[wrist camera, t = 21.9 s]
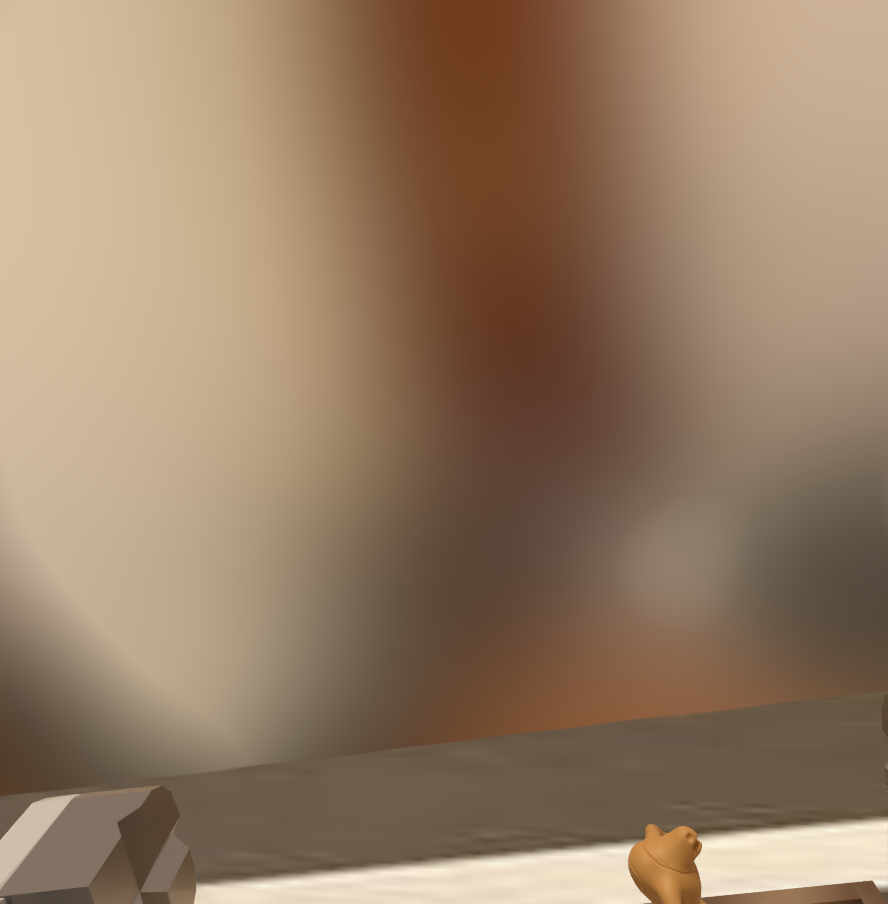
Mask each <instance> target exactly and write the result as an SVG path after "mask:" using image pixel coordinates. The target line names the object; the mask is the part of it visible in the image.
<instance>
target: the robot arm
mask: <svg viewBox="0 0 888 904" xmlns="http://www.w3.org/2000/svg"><path fill="white" fill-rule="evenodd" d="M882 730H883V731H884V732H885V734H886V735H887V736H888V695H885V697H884V701H883V705H882ZM885 776H886V786H887V795H888V762H887V764H886V765H885ZM179 817H180V815H179V812H178V809H177V806H176V804H175V801H174V798H173V795H172V792H171V791H169V790H168V789H166V788H165V787H163V786H151V787H141V788H132V789H122V790H113V791H103V792H93V793H85V794H82V795H81V794H73V795H66V796H59V797H51V798H45V799H43V800H40V801H37V802H34V803H32V804H31V805H30V807H29V808H28V809H27V810H26V811H25V812H24V813H23V815H22V816H21V817H20V818H19V819H18V820H17V822H16V823H15V824H14V825H13V826H12V827H11V828H10V830H9V831H8V832H7V833H6V834H5V835H4V837H3V838H2V839H1V840H0V904H194V899H195V893H196V881H195V868H194V864H193V860H192V857H191V853H190V849H189V848H188V847H187V846H186V845H184V844H183V843H182V842H181V841H180V840H179V839H178V838H176V837H175V836H174V835H173V834H172V833H173V830H174V828H175V826H176V823H177V821H178V819H179Z"/></svg>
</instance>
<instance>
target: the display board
mask: <svg viewBox="0 0 888 904" xmlns="http://www.w3.org/2000/svg"><path fill="white" fill-rule="evenodd" d="M701 899H702V900H703V901H704V902H705V903H707V904H887V903H886V901H885V900H884V898H883V896H882V895H881V893H880V892H879V890H878V889H877V887H876V885H875V884H874V882H873V881H863V882H853V883H844V884H834V885H824V886H814V887H804V888H794V889H784V890H774V891H764V892H754V893H745V894H735V895H725V896H715V897H705V898H701ZM645 904H653V903H645Z"/></svg>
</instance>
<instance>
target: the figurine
mask: <svg viewBox="0 0 888 904" xmlns="http://www.w3.org/2000/svg"><path fill="white" fill-rule="evenodd" d="M697 837H698V836H697V834H696V832H695V831H693V830H692V829H691V828H689V827H686V826H680V827H678V828H676V829H674V830H673V831H671V832H670V833H668V834H667V833H665V832H663V831H662V830H661V829H660V828H658V827H657V826H656V825H653V824H649V825H648V826H647V827H646V837H645V841H641V842H639V843H637V844H636V845H634V847H633V848H632V849H631V851H630V855H629V859H628V866H629V871H630V874H631V876H632V878H633V880H634V882H635V884H636V886H637V887H638V888H639V890H640V891H641V892H642V893H643V894H644V895H645V896H646V897H647V898H648V899H649V900H650V901H651V902H652V903H653V904H707V903H705V902H704V901H703V900H702V899H701V882H700V877H699V873H698V870H697V867H696V865H695V863H694V860H695V858H696V857H697V856H698V855H699V853H700V851H701V848H702V843H701V842H700V841H698V840H697Z"/></svg>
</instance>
